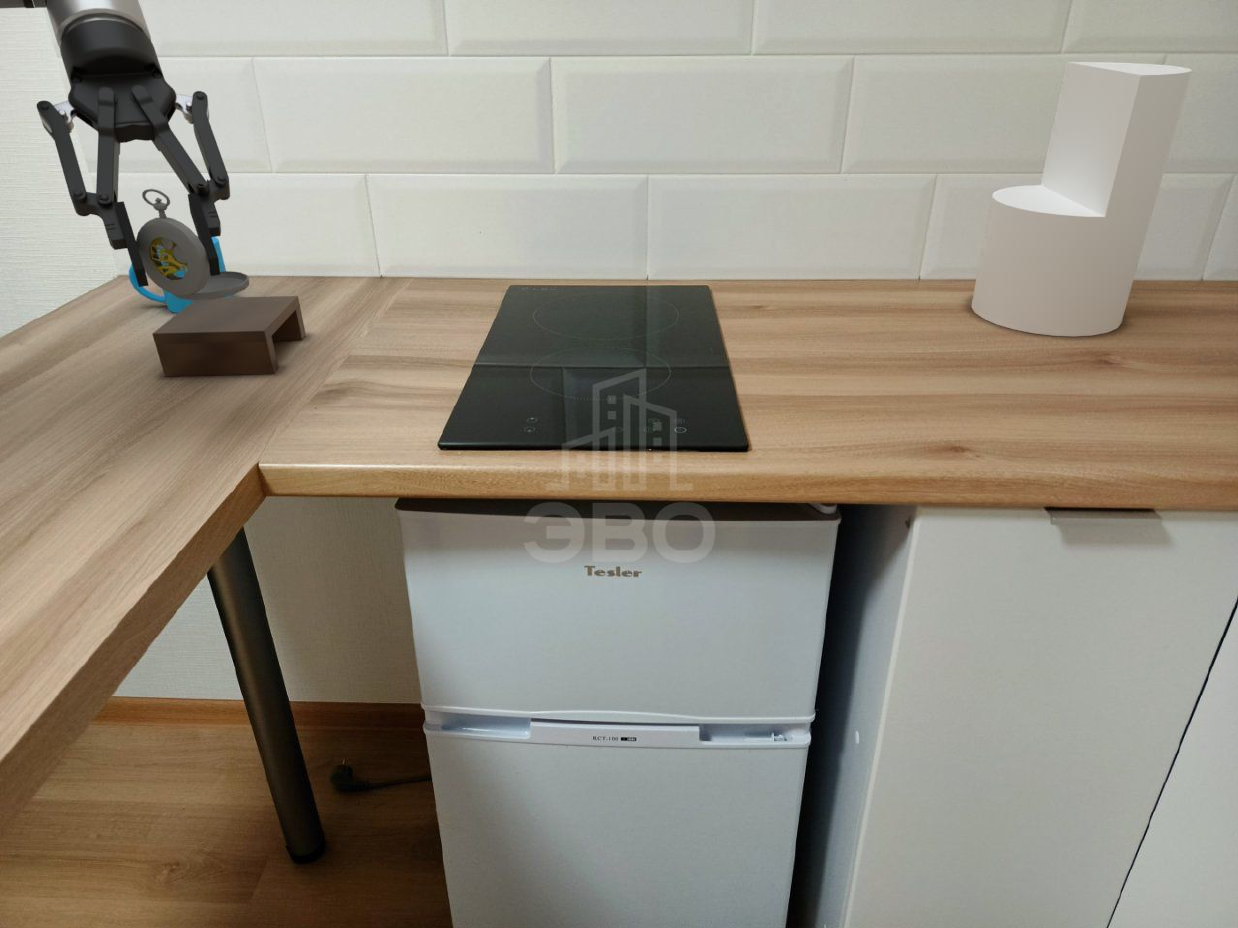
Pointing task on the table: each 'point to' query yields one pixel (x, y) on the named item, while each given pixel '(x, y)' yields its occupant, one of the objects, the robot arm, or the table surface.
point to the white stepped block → (1082, 204)
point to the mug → (172, 301)
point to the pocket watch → (182, 259)
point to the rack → (228, 335)
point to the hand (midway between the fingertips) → (178, 272)
